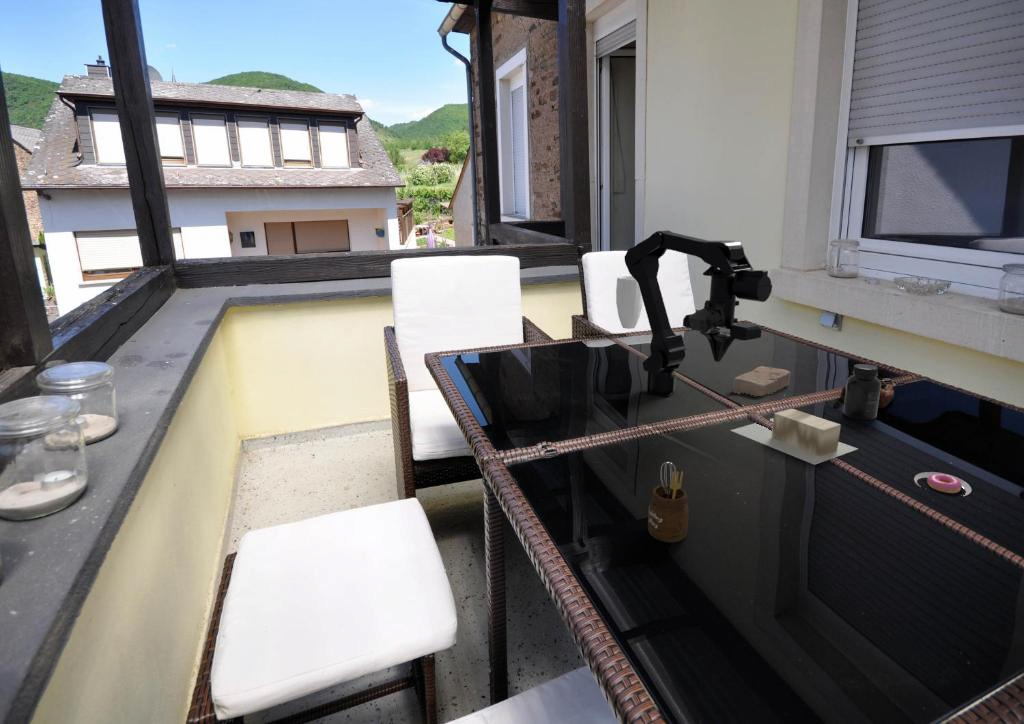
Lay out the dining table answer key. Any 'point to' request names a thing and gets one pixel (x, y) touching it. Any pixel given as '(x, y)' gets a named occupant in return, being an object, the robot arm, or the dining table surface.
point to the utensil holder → (668, 510)
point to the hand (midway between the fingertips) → (717, 361)
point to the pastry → (885, 394)
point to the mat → (765, 437)
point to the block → (806, 431)
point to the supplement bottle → (862, 393)
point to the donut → (944, 482)
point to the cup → (628, 301)
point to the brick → (761, 381)
